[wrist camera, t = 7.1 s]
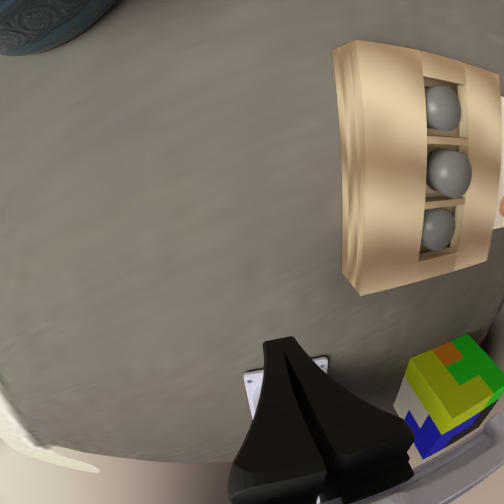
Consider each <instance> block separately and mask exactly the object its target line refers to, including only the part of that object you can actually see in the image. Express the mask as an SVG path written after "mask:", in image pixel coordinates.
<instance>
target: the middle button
mask: <svg viewBox="0 0 504 504" xmlns="http://www.w3.org/2000/svg"><path fill="white" fill-rule="evenodd" d="M471 178H472V168H471V164H470V161H469V159H468V158H467V157H466V156H465V155H464V154H463V153H459V152H456V151H452V150H448V149H444V148H436V149H434V150H433V151H431V152H430V154H429V155H428V157H427V174H426V183H427V185H428V186H429V187H430V188H431V189H432V190H435V191H437V192H439V193H441V194H444V195H446V196H448V197H450V198H453V199H457V198H460V197H462V196H463V195H464V194H465V193H466V192H467V190H468V188H469V186H470V183H471Z"/></svg>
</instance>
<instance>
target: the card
mask: <svg viewBox="0 0 504 504" xmlns="http://www.w3.org/2000/svg"><path fill="white" fill-rule="evenodd" d="M501 112H502V152H501V170H500V182H499V192H498V200H497V208H496V215H495V221H494V227H493V229H497V228H501V227H504V97H502V96H501Z"/></svg>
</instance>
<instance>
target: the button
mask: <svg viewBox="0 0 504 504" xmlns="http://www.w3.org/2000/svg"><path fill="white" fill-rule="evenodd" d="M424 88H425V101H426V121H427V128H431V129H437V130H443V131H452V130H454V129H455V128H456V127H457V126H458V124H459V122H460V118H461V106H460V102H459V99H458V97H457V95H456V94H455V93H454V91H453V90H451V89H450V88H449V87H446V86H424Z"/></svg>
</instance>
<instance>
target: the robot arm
mask: <svg viewBox="0 0 504 504" xmlns="http://www.w3.org/2000/svg"><path fill="white" fill-rule="evenodd" d="M263 352H264V369H263V370H258V371H252V372H247V373H245V374H244V381H245V386H246V391H247V396H248V400H249V405H250V410H251V414H252V419H253V420H252V423H251V426H250V429H249V431H248V433H247V435H246V438H245V440H244V442H243V444H242V446H241V448H240V450H239V452H238V454H237V456H236V458H235V459H234V461H233V464H232V468H231V471H230V475H229V480H228V494H229V500H230V501H231V503H232V504H449V503H451V502H452V501H454V500H455V499H457V498H458V497H460V496H461V495H463V494H464V493H466V492H467V491H469V490H470V489H472V488H473V487H474V486H476V485H477V484H478V483H480V482H481V481H483V480H484V479H485V478H486V477H488V476H489V475H491V474H492V473H493V472H494V471H496V470H497V469H498V468H499V467H501V466H502V465H503V464H504V408H503V409H502V410H501V411H499V412H498V413H497V414H495V415H494V416H493V417H491V418H490V419H489V420H488V421H487V423H486V424H485V425H484V427H483V428H482V429H481V430H479V431H478V432H476V433H475V434H473V435H472V436H470V437H469V438H467V439H466V440H464V441H462V442H461V443H459V444H457V445H456V446H454V447H452V448H451V449H449V450H447V451H446V452H444V453H442V454H440V455H438V456H437V457H435V458H433V459H431V460H429V461H427V462H426V463H423V464H421V465H419V466H418V467H415V468H413V469H412V468H411V466H410V464H409V462H408V461H409V459H410V458H409V456H408V454H407V451H408V450H409V448H410V447H411V445H412V444H413V442H414V439H415V435H414V433H413V431H412V430H411V428H410V427H409V425H408V424H407V423H406V422H405V420H404V419H403V418H400V417H398V416H395V415H392V414H390V413H387V412H385V411H383V410H380V409H378V408H376V407H374V406H372V405H370V404H369V403H367V402H365V401H363V400H362V399H360V398H358V397H356V396H355V395H353V394H352V393H350V392H349V391H347V390H346V389H345V388H343V387H342V386H341V385H339V384H338V383H337V382H336V381H334V380H333V379H332V378H331V377H330V376H329V375H327V368H328V359H327V358H326V357H319V358H315V359H311V358H310V357H309V356H308V354H307V353H306V352H305V351H304V350H303V349H302V347H301V346H300V345H299V344H298V342H297V341H296V340H295V338H294V337H292V336H290V337H285V338H280V339H275V340H270V341H265V342H264V343H263ZM395 493H396V494H395ZM390 495H391V496H390Z"/></svg>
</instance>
